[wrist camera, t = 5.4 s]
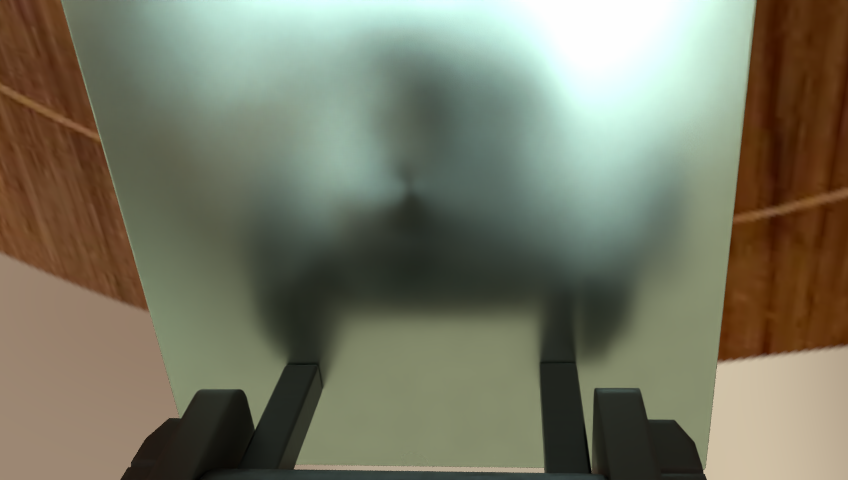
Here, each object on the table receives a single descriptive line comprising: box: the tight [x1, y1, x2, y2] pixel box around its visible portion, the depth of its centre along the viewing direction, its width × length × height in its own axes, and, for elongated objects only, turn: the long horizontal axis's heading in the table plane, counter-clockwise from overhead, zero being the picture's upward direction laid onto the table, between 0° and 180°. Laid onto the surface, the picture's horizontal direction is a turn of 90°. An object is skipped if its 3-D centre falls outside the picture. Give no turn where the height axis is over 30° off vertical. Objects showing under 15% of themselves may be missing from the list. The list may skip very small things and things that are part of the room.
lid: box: [61, 0, 757, 480], centre depth 11 cm, size 13×11×6 cm
